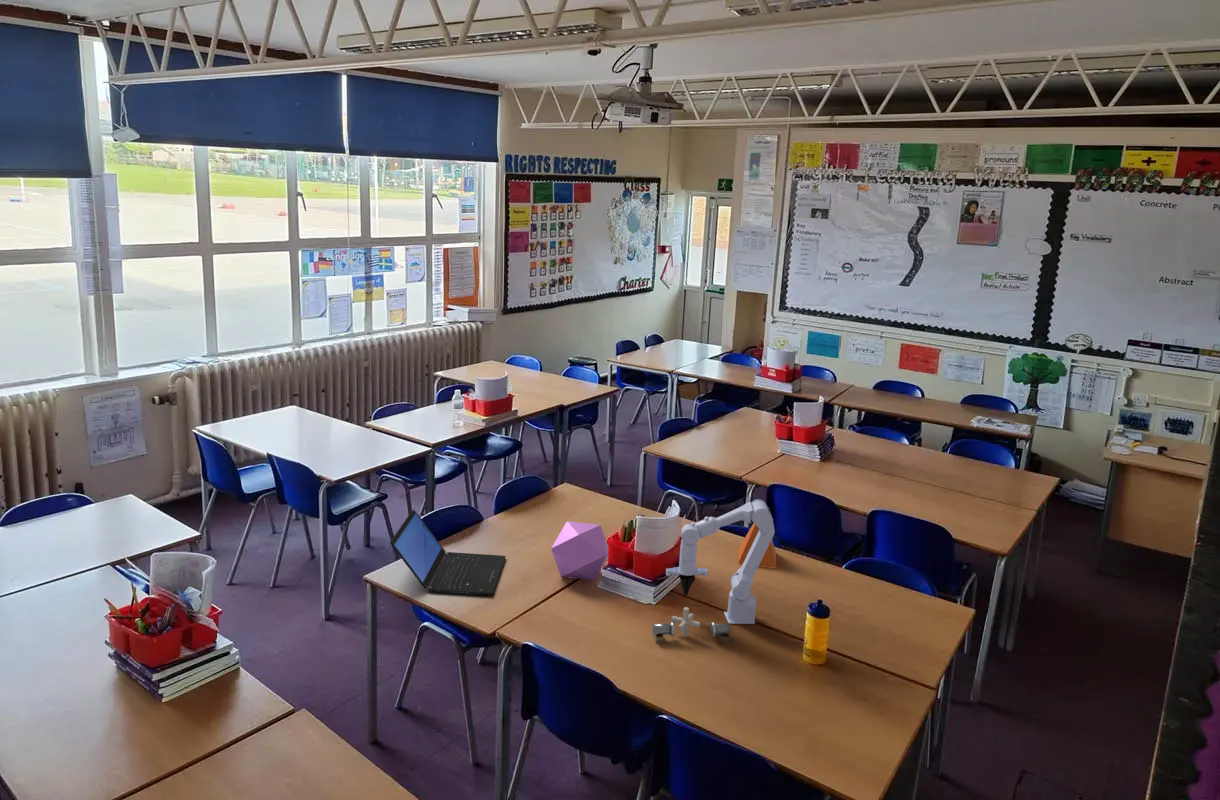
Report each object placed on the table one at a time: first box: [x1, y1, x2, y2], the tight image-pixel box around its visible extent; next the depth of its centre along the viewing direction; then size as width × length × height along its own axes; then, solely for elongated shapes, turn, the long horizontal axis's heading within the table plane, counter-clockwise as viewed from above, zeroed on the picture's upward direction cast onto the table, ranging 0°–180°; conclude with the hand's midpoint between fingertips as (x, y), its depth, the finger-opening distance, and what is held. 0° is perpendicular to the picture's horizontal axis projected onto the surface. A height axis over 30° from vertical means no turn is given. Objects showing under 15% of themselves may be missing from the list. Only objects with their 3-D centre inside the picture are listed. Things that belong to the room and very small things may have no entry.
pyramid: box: [737, 522, 778, 569], centre depth 350 cm, size 16×16×20 cm
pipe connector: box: [670, 606, 702, 637], centre depth 288 cm, size 10×10×10 cm
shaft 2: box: [709, 621, 731, 644], centre depth 287 cm, size 6×5×6 cm
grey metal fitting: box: [651, 621, 676, 644], centre depth 285 cm, size 7×5×6 cm
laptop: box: [389, 509, 506, 596], centre depth 321 cm, size 33×38×19 cm
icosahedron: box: [550, 520, 609, 581], centre depth 327 cm, size 22×21×25 cm
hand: (685, 593), depth 301 cm, fingers closed
